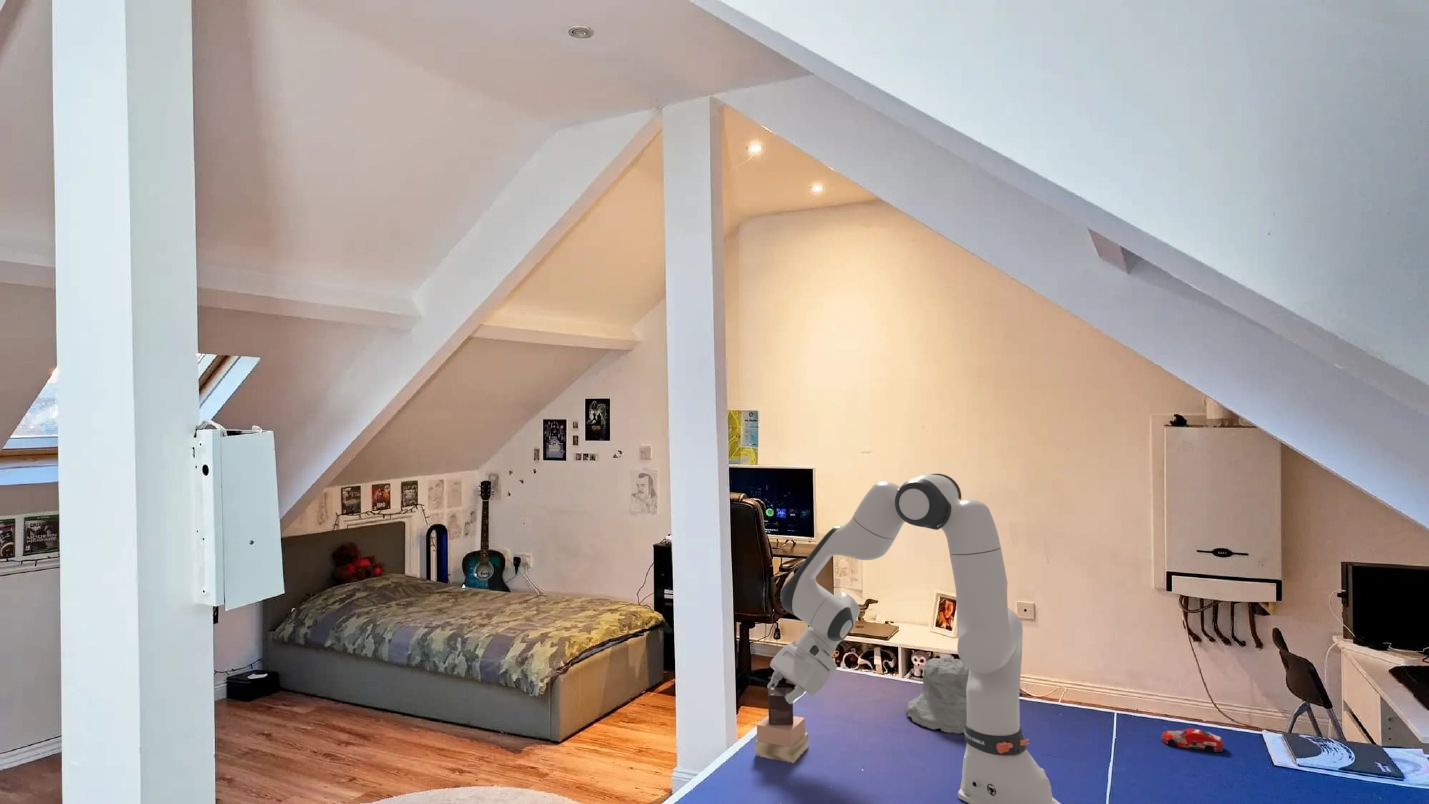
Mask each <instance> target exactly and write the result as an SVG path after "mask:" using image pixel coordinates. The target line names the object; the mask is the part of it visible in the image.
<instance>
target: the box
mask: <svg viewBox="0 0 1429 804" xmlns="http://www.w3.org/2000/svg"><path fill="white" fill-rule="evenodd" d="M793 690H794V689H793V687H776V688H775V687H773V688H768V693H767V705H768V711H767V712H768V715H769V725H793V716H794V702H793V703H792V704H789V703H788V702H787V701H785V700H784V697H785V696H786V695H787V693H789V694H790V693H791V692H792V691H793Z"/></svg>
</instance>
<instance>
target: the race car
mask: <svg viewBox="0 0 1429 804" xmlns="http://www.w3.org/2000/svg"><path fill="white" fill-rule="evenodd" d="M1161 741H1162V742H1163V743H1164V744H1166V745H1168V746H1170V747H1174V748H1176V747H1179V748H1185V749H1192V750H1199V751H1205V752H1206V753H1221V752H1223V751H1224V745H1225V744H1224V742H1223V739H1222V737H1221V736H1218V735H1216V734H1213V733H1212V732H1209V731H1205V730H1202V729H1196V728H1186V729H1182V730H1167V731H1166V730H1165V731H1164V732H1162V734H1161Z"/></svg>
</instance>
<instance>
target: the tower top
mask: <svg viewBox="0 0 1429 804" xmlns="http://www.w3.org/2000/svg"><path fill="white" fill-rule="evenodd" d="M805 733H806V718H805V717H802V716H797V715H796V716H795V715H793V725H769V714H767V716H765V717H764V718H763V719H762V720H761V721H759V722H758V723H757V724H756V740H757V741H759V742H765V743H770V744H775V745H780V746H786V747H792V746H793V745H794V744H795V743H796V742H797V741H798V740H799V739H801V738H802V737H803V736H804V735H805Z"/></svg>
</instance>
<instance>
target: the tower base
mask: <svg viewBox="0 0 1429 804" xmlns="http://www.w3.org/2000/svg"><path fill="white" fill-rule="evenodd" d="M754 744H755V745H754V748H755V749H754V750H755V751H754V754H755V757H759V756H760V758H764V757H765V759H769V760H775V759H776V760H775V761H781V762H785V761H787V762H786V763H790V762H791V763H792V764H794V763H796V761H797V760H798V759H799V758H800V757H801V756H802V755H803V754H804V753H805V752H806V750H807V749H808V748H809V745H810V744H809V732H805V735H804V736H803V737H802V738H801V739H799V740H798V741H797V742H796V743H795V744H794V745H793V746H792V747H786V746H780V745H775V744H770V743H765V742H759V741H757V739H756V740H754ZM804 751H805V752H804ZM803 752H804V753H803ZM801 754H802V755H801ZM800 755H801V756H800Z"/></svg>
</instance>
